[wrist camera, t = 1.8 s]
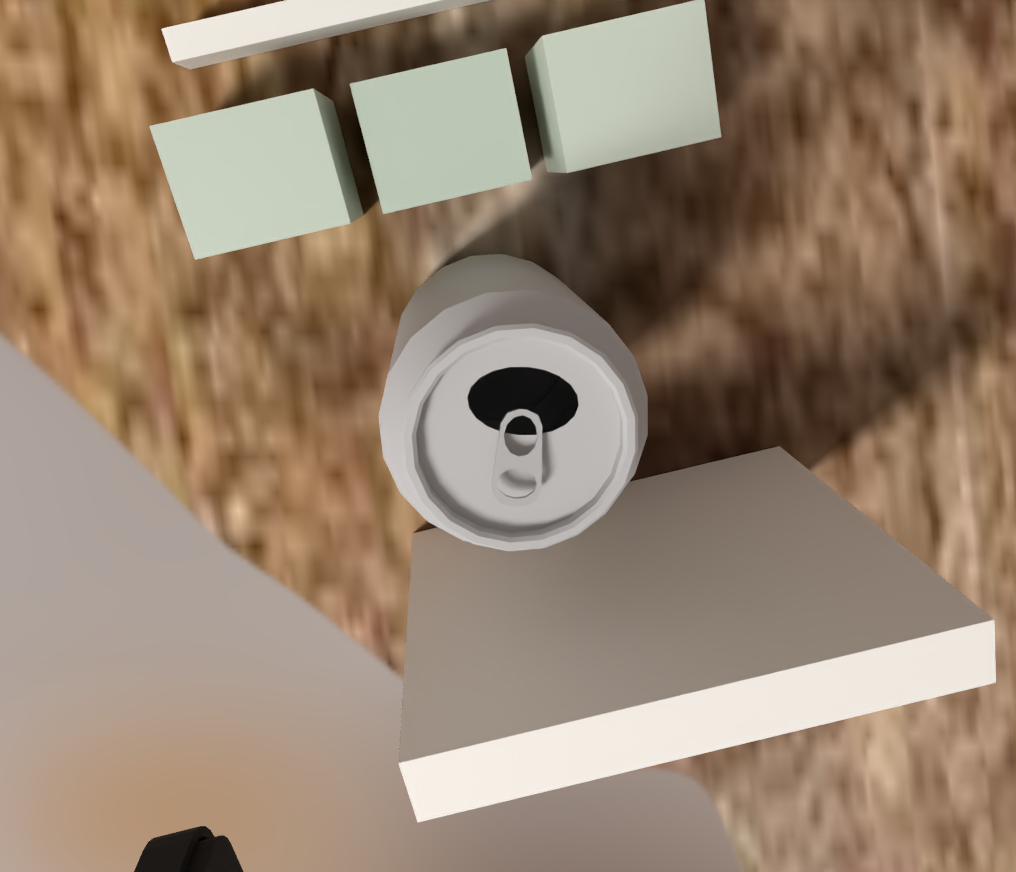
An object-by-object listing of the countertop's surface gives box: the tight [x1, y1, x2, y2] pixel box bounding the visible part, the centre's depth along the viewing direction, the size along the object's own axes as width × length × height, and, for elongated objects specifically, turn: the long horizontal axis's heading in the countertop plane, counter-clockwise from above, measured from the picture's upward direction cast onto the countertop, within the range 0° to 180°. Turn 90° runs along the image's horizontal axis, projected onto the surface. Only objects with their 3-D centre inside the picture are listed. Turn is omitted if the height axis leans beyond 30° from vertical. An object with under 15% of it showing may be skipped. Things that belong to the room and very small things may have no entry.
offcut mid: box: [350, 48, 532, 214], centre depth 28 cm, size 4×5×4 cm
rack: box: [162, 0, 996, 822], centre depth 25 cm, size 22×19×14 cm
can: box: [379, 254, 648, 551], centre depth 26 cm, size 8×8×12 cm
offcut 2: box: [525, 0, 721, 173], centre depth 27 cm, size 4×5×5 cm
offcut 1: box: [149, 88, 364, 260], centre depth 27 cm, size 4×5×5 cm
